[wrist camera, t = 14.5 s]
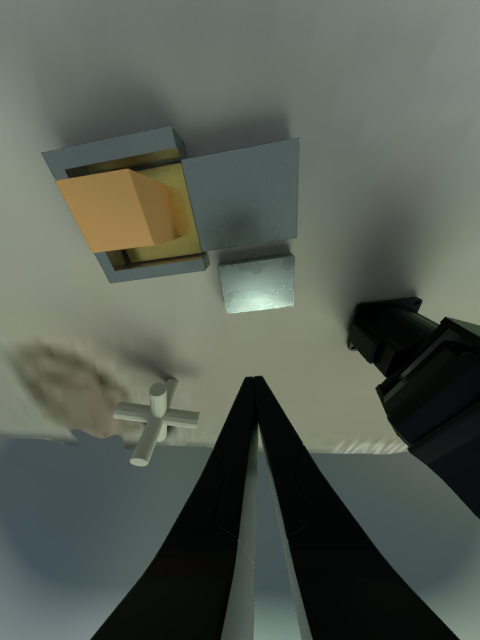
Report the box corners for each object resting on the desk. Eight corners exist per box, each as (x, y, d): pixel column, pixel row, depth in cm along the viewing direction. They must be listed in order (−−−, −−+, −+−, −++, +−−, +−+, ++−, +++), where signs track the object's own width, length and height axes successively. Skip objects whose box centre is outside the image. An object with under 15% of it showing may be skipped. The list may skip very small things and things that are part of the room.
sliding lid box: (292, 119, 12) (302, 98, 10) (290, 253, 17) (297, 258, 15) (73, 163, 14) (41, 152, 11) (125, 275, 18) (109, 283, 16)
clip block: (128, 168, 10) (54, 180, 10) (154, 245, 12) (92, 253, 12) (163, 183, 14) (111, 192, 14) (178, 238, 16) (132, 244, 16)
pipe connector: (136, 352, 23) (73, 430, 15) (209, 364, 24) (190, 444, 16) (141, 398, 28) (97, 476, 20) (202, 406, 29) (185, 485, 21)
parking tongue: (290, 253, 17) (294, 255, 15) (290, 300, 19) (293, 306, 18) (219, 262, 17) (217, 266, 16) (228, 307, 20) (226, 313, 18)
